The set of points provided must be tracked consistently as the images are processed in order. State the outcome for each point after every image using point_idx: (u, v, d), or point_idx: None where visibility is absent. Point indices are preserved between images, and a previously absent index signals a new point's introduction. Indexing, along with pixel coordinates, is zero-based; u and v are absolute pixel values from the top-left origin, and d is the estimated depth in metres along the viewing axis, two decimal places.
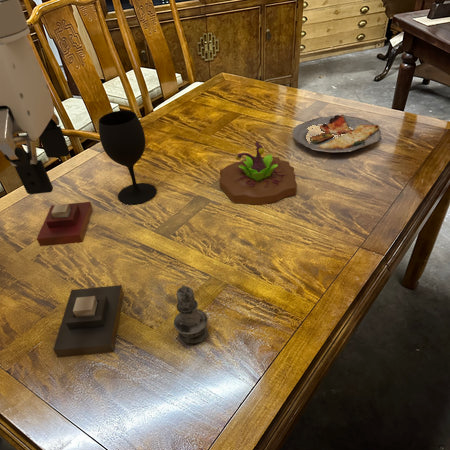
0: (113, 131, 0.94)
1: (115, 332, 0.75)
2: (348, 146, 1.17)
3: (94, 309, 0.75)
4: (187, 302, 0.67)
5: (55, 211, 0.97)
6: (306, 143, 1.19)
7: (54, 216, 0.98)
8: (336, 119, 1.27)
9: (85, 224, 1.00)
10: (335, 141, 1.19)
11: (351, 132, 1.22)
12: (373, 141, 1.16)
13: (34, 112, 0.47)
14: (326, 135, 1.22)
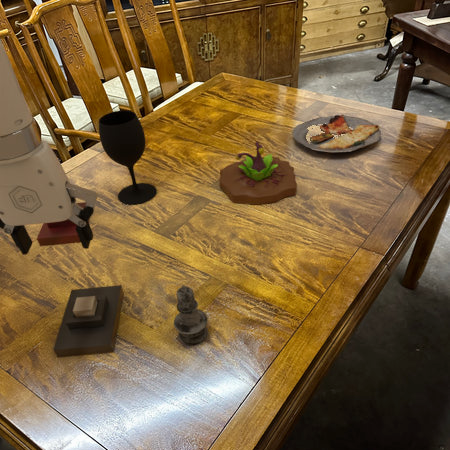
0: (113, 131, 0.94)
1: (115, 332, 0.75)
2: (348, 146, 1.17)
3: (94, 309, 0.75)
4: (187, 302, 0.67)
5: None
6: (306, 143, 1.19)
7: None
8: (336, 119, 1.27)
9: None
10: (335, 141, 1.19)
11: (351, 132, 1.22)
12: (373, 141, 1.16)
13: None
14: (326, 135, 1.22)
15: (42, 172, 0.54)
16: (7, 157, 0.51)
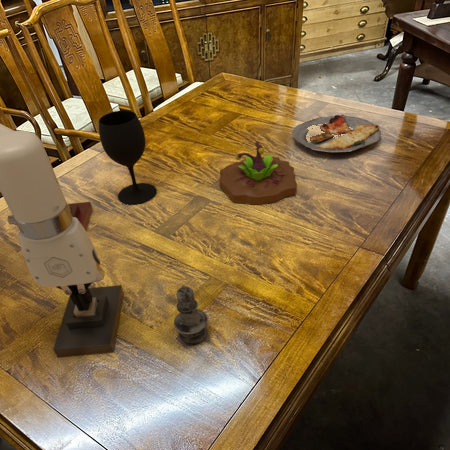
0: (113, 131, 0.94)
1: (115, 332, 0.75)
2: (348, 146, 1.17)
3: (95, 310, 0.75)
4: (187, 302, 0.67)
5: None
6: (306, 143, 1.19)
7: None
8: (336, 119, 1.27)
9: (85, 224, 1.00)
10: (335, 141, 1.19)
11: (351, 132, 1.22)
12: (373, 141, 1.16)
13: None
14: (326, 135, 1.22)
15: (74, 246, 0.63)
16: (45, 237, 0.60)
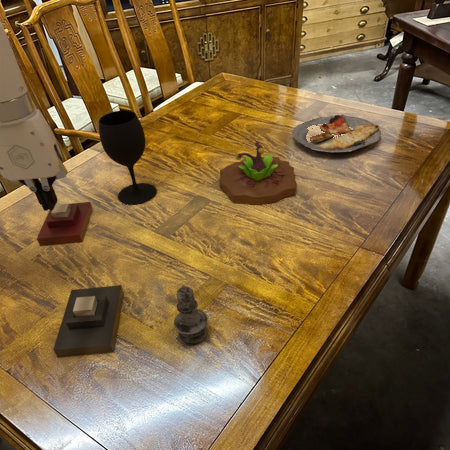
0: (113, 131, 0.94)
1: (115, 332, 0.75)
2: (348, 146, 1.17)
3: (94, 309, 0.75)
4: (187, 302, 0.67)
5: (55, 211, 0.97)
6: (306, 143, 1.19)
7: (54, 216, 0.98)
8: (336, 119, 1.27)
9: (85, 224, 1.00)
10: (335, 141, 1.19)
11: (351, 132, 1.22)
12: (373, 141, 1.16)
13: None
14: (326, 135, 1.22)
15: (34, 134, 0.67)
16: (6, 120, 0.64)
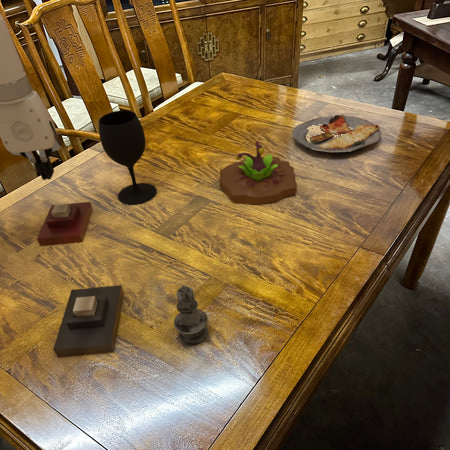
0: (113, 131, 0.94)
1: (115, 332, 0.75)
2: (348, 146, 1.17)
3: (94, 309, 0.75)
4: (187, 302, 0.67)
5: (55, 211, 0.97)
6: (306, 143, 1.19)
7: (54, 216, 0.98)
8: (336, 119, 1.27)
9: (85, 224, 1.00)
10: (335, 141, 1.19)
11: (351, 132, 1.22)
12: (373, 141, 1.16)
13: None
14: (326, 135, 1.22)
15: (33, 111, 0.80)
16: (9, 99, 0.77)
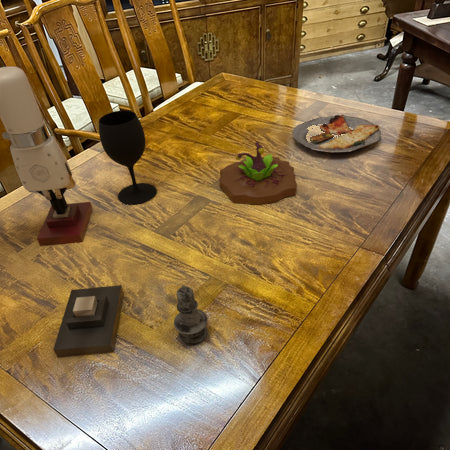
0: (113, 131, 0.94)
1: (115, 332, 0.75)
2: (348, 146, 1.17)
3: (94, 309, 0.75)
4: (187, 302, 0.67)
5: (56, 214, 0.98)
6: (306, 143, 1.19)
7: None
8: (336, 119, 1.27)
9: (85, 224, 1.00)
10: (335, 141, 1.19)
11: (351, 132, 1.22)
12: (373, 141, 1.16)
13: None
14: (326, 135, 1.22)
15: (50, 155, 0.87)
16: (29, 146, 0.84)
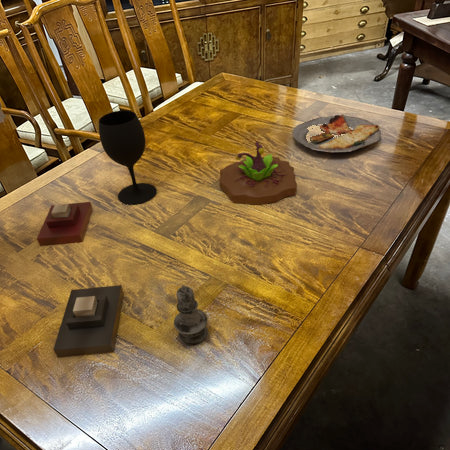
0: (113, 131, 0.94)
1: (115, 332, 0.75)
2: (348, 146, 1.17)
3: (94, 309, 0.75)
4: (187, 302, 0.67)
5: (55, 211, 0.97)
6: (306, 143, 1.19)
7: (54, 216, 0.98)
8: (336, 119, 1.27)
9: (85, 224, 1.00)
10: (335, 141, 1.19)
11: (351, 132, 1.22)
12: (373, 141, 1.16)
13: None
14: (326, 135, 1.22)
15: None
16: None
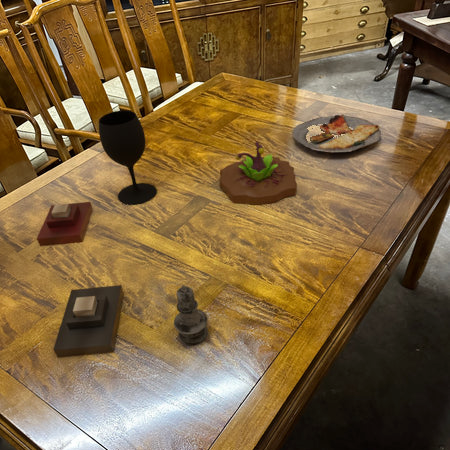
0: (113, 131, 0.94)
1: (115, 332, 0.75)
2: (348, 146, 1.17)
3: (94, 309, 0.75)
4: (187, 302, 0.67)
5: (55, 211, 0.97)
6: (306, 143, 1.19)
7: (54, 216, 0.98)
8: (336, 119, 1.27)
9: (85, 224, 1.00)
10: (335, 141, 1.19)
11: (351, 132, 1.22)
12: (373, 141, 1.16)
13: None
14: (326, 135, 1.22)
15: None
16: None
